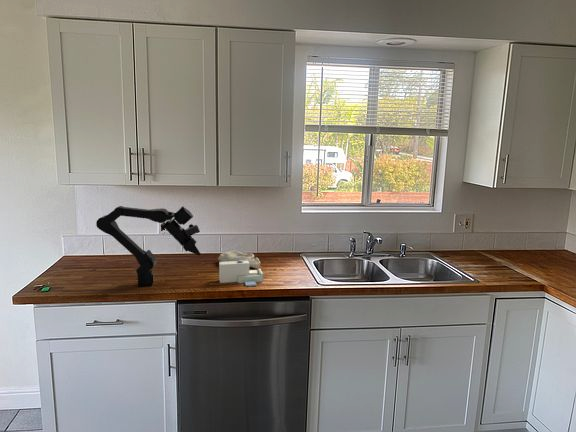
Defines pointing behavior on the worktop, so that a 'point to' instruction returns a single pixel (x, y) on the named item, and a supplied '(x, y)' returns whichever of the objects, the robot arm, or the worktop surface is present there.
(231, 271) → the white stepped block
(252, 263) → the sculpture
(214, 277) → the worktop surface
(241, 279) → the cradle
